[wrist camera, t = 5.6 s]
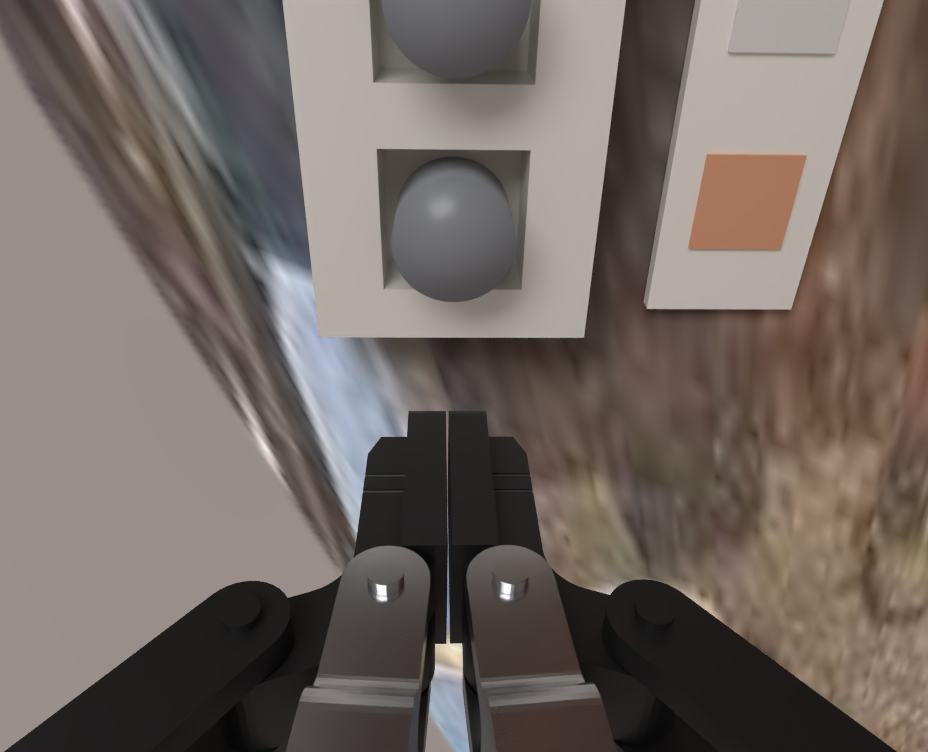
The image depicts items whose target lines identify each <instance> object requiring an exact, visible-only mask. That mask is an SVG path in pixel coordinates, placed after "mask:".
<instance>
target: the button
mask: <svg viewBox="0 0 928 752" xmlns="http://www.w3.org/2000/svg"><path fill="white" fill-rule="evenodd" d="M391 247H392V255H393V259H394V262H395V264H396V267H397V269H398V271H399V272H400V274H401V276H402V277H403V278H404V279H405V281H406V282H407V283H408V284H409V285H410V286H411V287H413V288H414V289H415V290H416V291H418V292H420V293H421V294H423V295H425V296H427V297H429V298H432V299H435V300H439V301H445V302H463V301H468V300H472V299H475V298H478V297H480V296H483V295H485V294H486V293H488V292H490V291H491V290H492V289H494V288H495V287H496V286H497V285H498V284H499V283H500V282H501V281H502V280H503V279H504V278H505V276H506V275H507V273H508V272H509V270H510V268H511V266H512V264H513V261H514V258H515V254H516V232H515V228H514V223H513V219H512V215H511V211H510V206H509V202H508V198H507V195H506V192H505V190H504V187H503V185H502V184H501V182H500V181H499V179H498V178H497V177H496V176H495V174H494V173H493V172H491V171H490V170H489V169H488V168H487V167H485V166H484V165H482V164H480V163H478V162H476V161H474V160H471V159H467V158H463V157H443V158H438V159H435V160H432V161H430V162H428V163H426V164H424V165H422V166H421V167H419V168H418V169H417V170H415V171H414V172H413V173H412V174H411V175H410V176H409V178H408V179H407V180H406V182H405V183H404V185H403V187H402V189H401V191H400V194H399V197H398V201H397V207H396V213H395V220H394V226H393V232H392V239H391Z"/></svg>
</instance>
